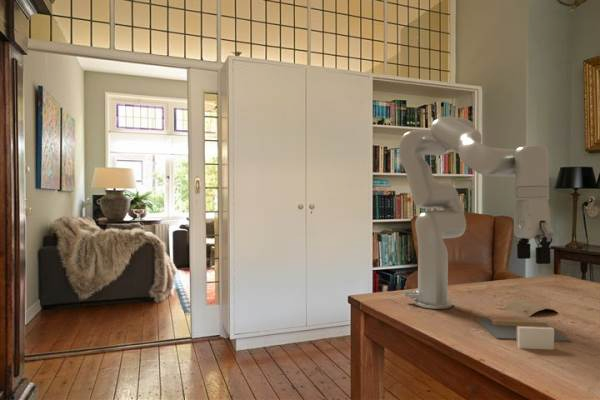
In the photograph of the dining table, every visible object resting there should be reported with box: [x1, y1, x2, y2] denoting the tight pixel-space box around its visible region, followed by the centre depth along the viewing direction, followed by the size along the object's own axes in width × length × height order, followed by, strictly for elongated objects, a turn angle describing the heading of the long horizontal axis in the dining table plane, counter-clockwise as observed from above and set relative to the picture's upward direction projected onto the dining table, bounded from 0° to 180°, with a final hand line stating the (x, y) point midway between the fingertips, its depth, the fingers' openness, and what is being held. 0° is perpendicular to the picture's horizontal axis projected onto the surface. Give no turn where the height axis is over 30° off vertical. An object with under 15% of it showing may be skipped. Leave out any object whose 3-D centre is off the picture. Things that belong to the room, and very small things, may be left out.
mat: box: [475, 318, 572, 343], centre depth 112 cm, size 18×16×2 cm
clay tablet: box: [503, 299, 558, 318], centre depth 131 cm, size 14×10×3 cm
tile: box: [515, 326, 555, 350], centre depth 99 cm, size 8×2×5 cm, turn 85°
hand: (533, 261), depth 104 cm, fingers open, 9 cm apart
